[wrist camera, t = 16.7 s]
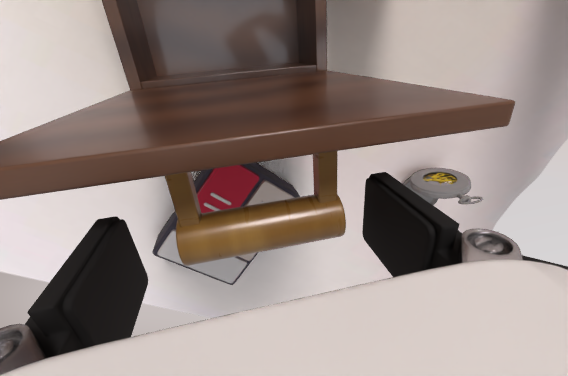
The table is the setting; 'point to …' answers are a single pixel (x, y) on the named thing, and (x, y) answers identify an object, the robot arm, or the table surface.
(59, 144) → the lid
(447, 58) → the table surface
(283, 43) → the chest
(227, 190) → the calculator
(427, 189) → the pocket watch
